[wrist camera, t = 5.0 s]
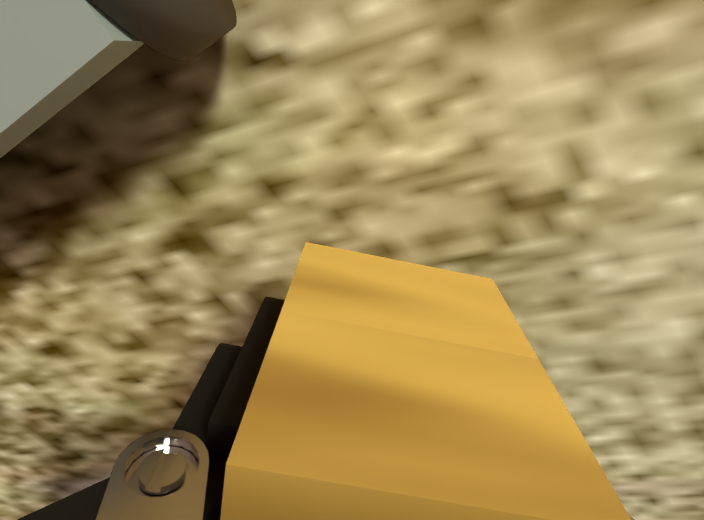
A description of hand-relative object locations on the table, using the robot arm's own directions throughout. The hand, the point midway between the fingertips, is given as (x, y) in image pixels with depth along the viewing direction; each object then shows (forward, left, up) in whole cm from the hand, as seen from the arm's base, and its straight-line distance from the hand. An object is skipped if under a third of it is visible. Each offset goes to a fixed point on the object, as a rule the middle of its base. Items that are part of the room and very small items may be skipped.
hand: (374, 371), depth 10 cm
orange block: (0, 0, -1) cm, 1 cm away
